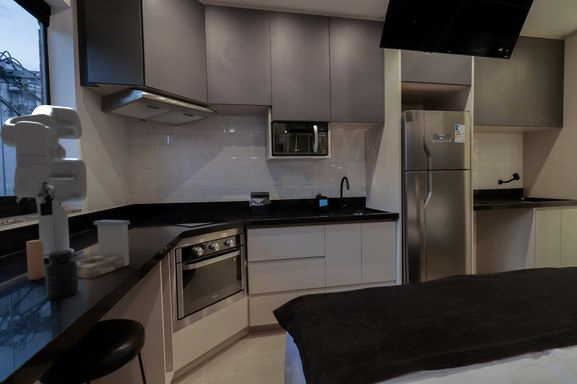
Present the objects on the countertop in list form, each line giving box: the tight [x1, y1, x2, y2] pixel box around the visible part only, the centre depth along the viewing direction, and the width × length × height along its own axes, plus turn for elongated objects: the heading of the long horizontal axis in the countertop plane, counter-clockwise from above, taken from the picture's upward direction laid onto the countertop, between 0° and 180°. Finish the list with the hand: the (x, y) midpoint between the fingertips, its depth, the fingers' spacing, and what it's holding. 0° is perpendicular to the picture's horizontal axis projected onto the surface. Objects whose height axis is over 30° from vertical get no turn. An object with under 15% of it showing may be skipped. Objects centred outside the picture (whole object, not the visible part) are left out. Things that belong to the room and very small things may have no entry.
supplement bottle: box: [44, 250, 80, 301], centre depth 77 cm, size 7×7×12 cm
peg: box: [25, 239, 46, 281], centre depth 92 cm, size 4×4×12 cm
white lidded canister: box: [93, 219, 131, 267], centre depth 105 cm, size 12×4×16 cm, turn 74°
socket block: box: [75, 254, 123, 279], centre depth 98 cm, size 12×12×4 cm
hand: (35, 214), depth 91 cm, fingers open, 9 cm apart
